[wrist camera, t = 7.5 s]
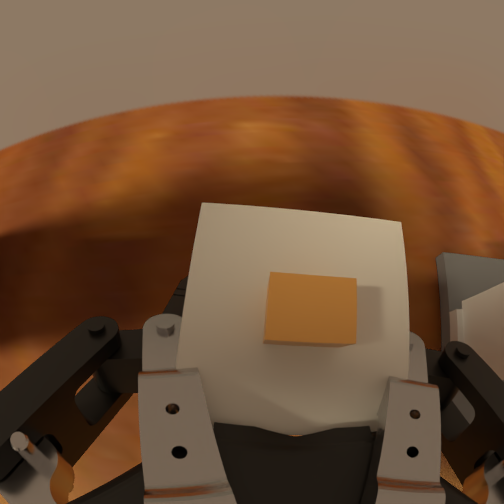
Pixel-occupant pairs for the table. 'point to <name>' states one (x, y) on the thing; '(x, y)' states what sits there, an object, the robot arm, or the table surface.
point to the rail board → (461, 289)
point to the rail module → (295, 316)
